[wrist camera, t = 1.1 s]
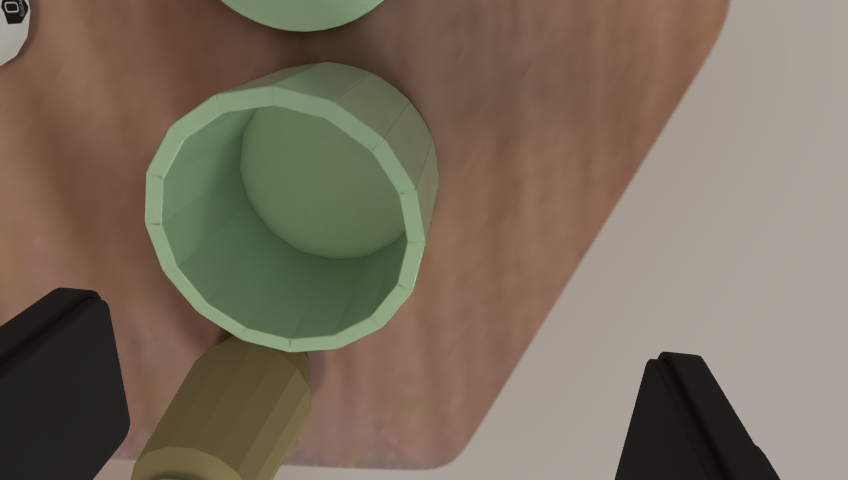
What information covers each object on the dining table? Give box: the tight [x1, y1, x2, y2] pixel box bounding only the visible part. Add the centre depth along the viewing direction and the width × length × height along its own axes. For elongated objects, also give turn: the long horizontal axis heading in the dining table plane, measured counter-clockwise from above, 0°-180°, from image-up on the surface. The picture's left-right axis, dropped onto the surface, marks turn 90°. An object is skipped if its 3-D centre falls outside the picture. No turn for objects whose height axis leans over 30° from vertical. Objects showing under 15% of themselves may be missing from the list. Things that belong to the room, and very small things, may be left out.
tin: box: [145, 62, 440, 352], centre depth 29 cm, size 13×13×10 cm
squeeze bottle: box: [131, 336, 311, 480], centre depth 32 cm, size 8×8×18 cm
